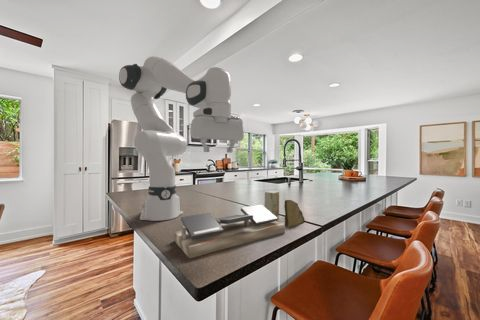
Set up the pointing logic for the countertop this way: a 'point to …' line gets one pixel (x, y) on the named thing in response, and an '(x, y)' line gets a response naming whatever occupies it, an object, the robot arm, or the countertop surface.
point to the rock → (292, 213)
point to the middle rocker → (234, 219)
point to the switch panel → (226, 237)
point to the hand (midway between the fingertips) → (218, 152)
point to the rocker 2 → (259, 214)
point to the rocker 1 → (201, 225)
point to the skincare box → (272, 202)
